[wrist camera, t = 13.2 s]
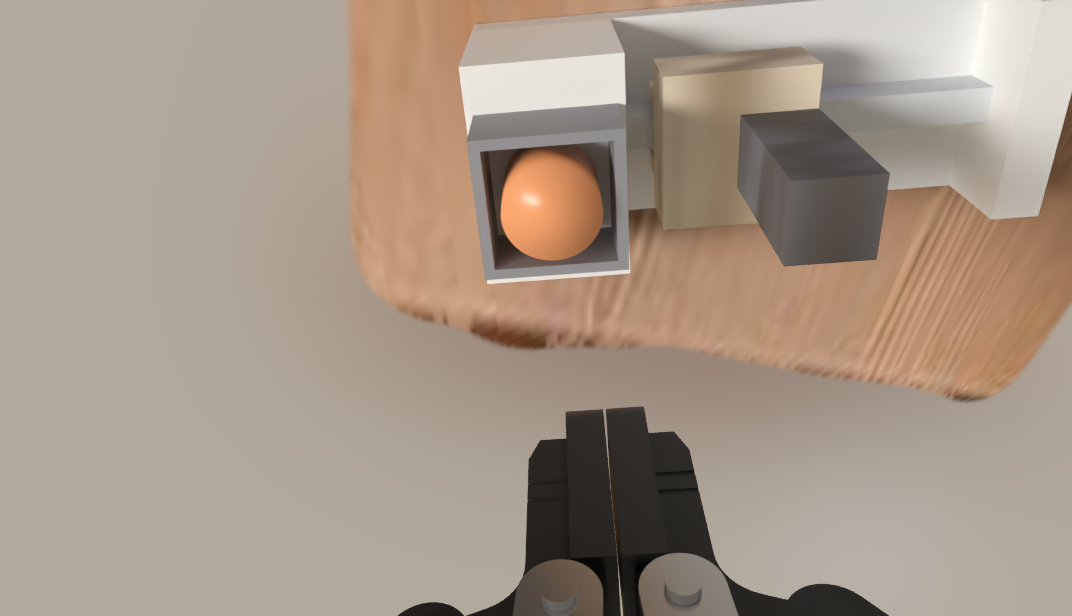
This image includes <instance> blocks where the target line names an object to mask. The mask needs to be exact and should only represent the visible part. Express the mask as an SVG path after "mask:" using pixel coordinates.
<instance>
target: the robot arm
mask: <svg viewBox="0 0 1072 616" xmlns="http://www.w3.org/2000/svg"><path fill="white" fill-rule="evenodd" d="M606 419H607V435H608V452H609V467H610V478H609V468H608V457H607V447H606V436H605V426H604V416H603V410H602V409H601V410H586V411H570V412H566V439H553V440H541V441H540V442H539V444H538V445H537V447H536V448H535V450H534V452H533V453H532V455H531V457H530V458H529V469H528V503H527V533H526V562H525V571H524V574H523V577H522V579H521V581H520V582H519V585H518V586H517V588H516V589H515V590H514V591H513V592H512V593H511V594H510V595H509V596H508V597H507V598H506V599H504V600H503V601H501V602H500V603H498V604H496V605H494V606H492V607H489V608H487V609H484V610H481V611H478V612H475V613H473V614H470V615H467V616H621V613H620V596H619V579H618V566H619V576H620V587H621V596H622V607H623V616H889V615H887V614H886V613H884V612H883V611H881V610H880V609H879V608H877V607H875V606H874V605H873V604H871V603H870V602H868V601H867V600H866V599H864V598H863V597H861V596H859V595H858V594H856V593H854V592H853V591H850V590H848V589H846V588H843V587H840V586H836V585H830V584H814V585H809V586H805V587H803V588H801V589H799V590H797V591H796V592H795V593H793V595H791V597H790V598H789V599H788V600H785V599H781V598H777V597H772V596H768V595H764V594H760V593H757V592H753V591H750V590H748V589H746V588H744V587H742V586H740V585H738V584H736V583H735V582H734V581H732V580H731V579H730V578H729V577H728V576H727V575H726V574H725V573H724V572H723V571H722V570H721V568H720V567H719V565H718V563H717V562H716V560H715V556H714V553H713V549H712V544H711V540H710V536H709V532H708V528H707V523H706V519H705V515H704V510H703V506H702V503H701V498H700V493H699V491H698V485H697V481H696V476H695V474H694V468H693V464H692V459H691V455H690V451H689V449H688V447H687V446H686V445H685V444H684V443H683V442H682V441H681V439H680V438H679V437H678V436H677V435H676V434H675V432H659V433H648V429H647V422H646V416H645V411H644V407H628V408H614V409H606ZM610 482H611V488H610ZM611 494H612V498H611ZM612 505H613V508H612ZM613 515H614V519H613ZM614 525H615V529H614ZM615 536H616V539H615ZM616 546H617V549H616ZM617 556H618V562H617ZM398 616H464V615H463V614H462V613H461V612H460V611H458V610H457V609H456V608H454V607H452V606H450V605H447V604H444V603H438V602H437V603H436V602H434V603H433V602H431V603H423V604H419V605H416V606H413V607H411V608H409V609H407V610H405V611H404V612H402V613H400V614H399V615H398Z"/></svg>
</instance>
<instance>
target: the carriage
mask: <svg viewBox="0 0 1072 616" xmlns="http://www.w3.org/2000/svg"><path fill="white" fill-rule="evenodd" d="M822 73H823V63H822V62H821V61H819V60H818V59H817V58H815V57H814V56H813V55H811V54H810V53H808V52H807V51H806V50H804V49H803V48H802V47H800V46H797V47H786V48H774V49H762V50H751V51H739V52H728V53H716V54H704V55H693V56H681V57H670V58H658V59H653V80H650V81H648V97H649V99H650V101H651V104H652V106H653V108H654V148H653V149H649V162H650V165H651V168H652V170H653V173H654V203H655V206H656V209H657V213H658V216H659V219H660V222H661V225H662V228H663V230H674V229H687V228H700V227H713V226H726V225H740V224H753V223H759V225H760V227H761V228H762V230H763V232H764V233H765V235H766V237H767V238H768V240H769V242H770V243H771V245H772V247H773V249H774V250H775V252H776V254H777V255H778V257H779V259H780V260H781V262H782V264H783V265H784V266H796V265H810V264H824V263H837V262H851V261H865V260H876V259H877V252H878V246H879V240H880V233H881V227H882V221H883V215H884V208H885V202H886V196H887V189H888V183H889V177H890V173H889V172H888V171H887V170H886V169H885V168H884V167H883V166H881V165H880V164H879V163H878V162H877V161H876V160H875V159H874V158H873V157H872V156H870V155H869V154H868V153H867V152H866V151H865V150H864V149H863V148H862V147H861V146H860V145H858V144H857V143H856V142H855V141H854V140H853V139H852V138H851V137H850V136H849V135H847V134H846V133H845V132H844V131H843V130H842V129H841V128H840V127H839V126H838V125H837V124H835V123H834V122H833V121H832V120H831V119H830V118H829V117H828V116H827V115H826V114H824V113H823V112H822V111H821V110H820V109H819V102H820V92H821V82H822Z"/></svg>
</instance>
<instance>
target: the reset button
mask: <svg viewBox="0 0 1072 616" xmlns="http://www.w3.org/2000/svg"><path fill="white" fill-rule="evenodd" d="M602 221H603V204H602V199H601V193H600V188H599V182H598V177H597V172H596V168H595V166H594V163H593V161H592V160H591V158H590V156H589V155H588V154H587V153H586V152H585V151H584V150H583V149H582V148H581V147H579V146H578V145H576V144H568V145H556V146H544V147H531V148H520V149H519V150H518V151H517V152H516V153H515V154H514V155H513V157H512V158H511V159H510V161H509V163H508V165H507V168H506V171H505V175H504V184H503V193H502V203H501V222H502V226H503V229H504V232H505V234H506V236H507V237H508V239H509V240H510V242H511V243H512V244H513V245H514V246H515V247H516V248H517V249H519V250H520V251H521V252H523V253H524V254H527V255H529V256H531V257H534V258H536V259H541V260H549V261H552V260H562V259H566V258H570V257H572V256H575V255H577V254H578V253H580V252H582V251H583V250H585V249H586V248H587V247H588V246H589V245H590V244H591V243H592V242H593V241H594V239H595V238H596V236H597V235H598V233H599V231H600V228H601V225H602Z"/></svg>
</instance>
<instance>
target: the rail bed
mask: <svg viewBox="0 0 1072 616" xmlns="http://www.w3.org/2000/svg"><path fill="white" fill-rule="evenodd" d="M797 46H800V47H802V48H803V49H804V50H806V51H807V52H808V53H810V54H811V55H813V56H814V57H815V58H817V59H818V60H819V61H821V62H822V63H823V73H822V82H821V92H820V102H819V109H820V110H821V111H822V112H823V113H824V114H826V115H827V116H828V117H829V118H830V119H831V120H832V121H833V122H834V123H835V124H837V125H838V126H839V127H840V128H841V129H842V130H843V131H844V132H845V133H846V134H847V135H849V136H850V137H851V138H852V139H853V140H854V141H855V142H856V143H857V144H858V145H860V146H861V147H862V148H863V149H864V150H865V151H866V152H867V153H868V154H869V155H870V156H872V157H873V158H874V159H875V160H876V161H877V162H878V163H879V164H880V165H881V166H883V167H884V168H885V169H886V170H887V171H888V172H889V173H890V177H889V183H888V189H887V190H895V189H908V188H921V187H934V186H947V185H949V186H951V187H952V188H953V189H954V190H956V191H957V192H958V193H959V194H960V195H962V196H963V197H964V198H965V199H967V200H968V201H969V202H970V203H972V204H973V205H974V206H975V207H976V208H978V209H979V210H980V211H981V212H983V213H984V214H985V215H986V216H988V217H989V218H990V219H1005V218H1018V217H1031V216H1038V215H1039V211H1040V208H1041V204H1042V200H1043V197H1044V193H1045V189H1046V186H1047V182H1048V178H1049V175H1050V171H1051V167H1052V163H1053V160H1054V156H1055V152H1056V149H1057V145H1058V141H1059V138H1060V134H1061V130H1062V127H1063V123H1064V119H1065V115H1066V112H1067V108H1068V104H1069V101H1070V97H1071V93H1072V0H743V1H732V2H721V3H710V4H699V5H687V6H676V7H665V8H654V9H642V10H631V11H620V12H609V13H598V14H586V15H575V16H564V17H553V18H541V19H530V20H519V21H508V22H497V23H485V24H474V27H473V30H472V32H471V35H470V38H469V40H468V43H467V46H466V49H465V51H464V54H463V57H462V59H461V62H460V65H459V74H460V81H461V89H462V96H463V104H464V111H465V119H466V126H467V134H468V138H467V148H468V155H469V162H470V170H471V177H472V185H473V192H474V199H475V207H476V214H477V222H478V229H479V236H480V244H481V251H482V258H483V266H484V273H485V280H487V283H488V284H494V283H507V282H521V281H535V280H548V279H562V278H575V277H589V276H603V275H616V274H630V248H629V210H636V209H649V208H656V206H655V203H654V173H653V170H652V168H651V165H650V162H649V149H653V148H654V108H653V106H652V104H651V101H650V99H649V97H648V81H650V80H653V59H658V58H670V57H681V56H693V55H704V54H716V53H728V52H739V51H751V50H762V49H774V48H786V47H797ZM568 144H576V145H578V146H579V147H581V148H582V149H583V150H584V151H585V152H586V153H587V154H588V155H589V156H590V158H591V160H592V161H593V163H594V166H595V168H596V172H597V177H598V182H599V188H600V193H601V199H602V204H603V221H602V225H601V228H600V231H599V233H598V235H597V236H596V238H595V239H594V241H593V242H592V243H591V244H590V245H589V246H588V247H587V248H586V249H585V250H583V251H582V252H580V253H578V254H577V255H575V256H572V257H570V258H566V259H562V260H552V261H549V260H541V259H536V258H534V257H531V256H529V255H527V254H524V253H523V252H521V251H520V250H519V249H517V248H516V247H515V246H514V245H513V244H512V243H511V242H510V240H509V239H508V237H507V236H506V234H505V232H504V229H503V226H502V222H501V203H502V193H503V184H504V175H505V171H506V168H507V165H508V163H509V161H510V159H511V158H512V157H513V155H514V154H515V153H516V152H517V151H518V150H519V149H520V148H531V147H544V146H556V145H568Z"/></svg>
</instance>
